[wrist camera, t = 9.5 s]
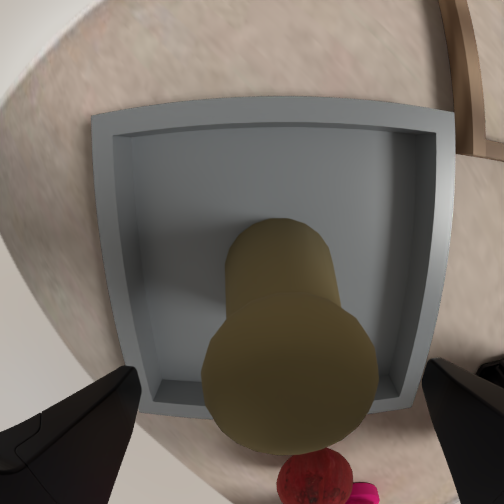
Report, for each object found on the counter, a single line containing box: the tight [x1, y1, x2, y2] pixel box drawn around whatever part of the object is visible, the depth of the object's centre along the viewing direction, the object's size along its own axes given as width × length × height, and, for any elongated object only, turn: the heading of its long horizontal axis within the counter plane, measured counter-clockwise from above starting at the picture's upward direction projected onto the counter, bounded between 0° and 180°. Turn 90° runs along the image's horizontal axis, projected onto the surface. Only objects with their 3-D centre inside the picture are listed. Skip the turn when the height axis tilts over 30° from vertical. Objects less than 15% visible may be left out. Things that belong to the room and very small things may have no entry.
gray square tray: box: [91, 96, 455, 419], centre depth 17 cm, size 18×18×3 cm
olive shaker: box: [201, 218, 379, 455], centre depth 13 cm, size 6×6×11 cm
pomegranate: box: [276, 448, 353, 504], centre depth 19 cm, size 6×6×8 cm
